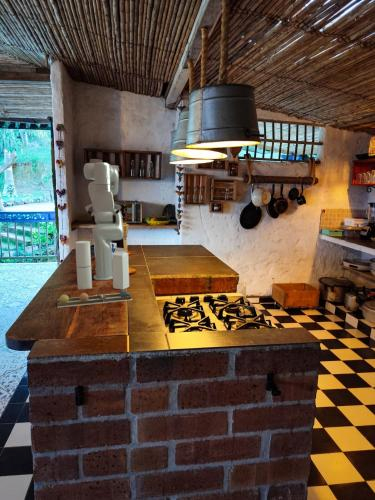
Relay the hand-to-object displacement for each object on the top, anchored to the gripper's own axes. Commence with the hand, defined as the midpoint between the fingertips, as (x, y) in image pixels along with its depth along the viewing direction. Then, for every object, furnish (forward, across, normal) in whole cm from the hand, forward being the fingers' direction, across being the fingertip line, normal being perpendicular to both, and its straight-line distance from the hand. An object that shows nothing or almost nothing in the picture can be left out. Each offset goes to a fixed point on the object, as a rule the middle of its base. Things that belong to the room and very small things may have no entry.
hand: (104, 223), depth 174 cm
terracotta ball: (+32, +12, +16) cm, 38 cm away
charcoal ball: (+32, -6, +16) cm, 36 cm away
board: (+35, +7, +14) cm, 39 cm away
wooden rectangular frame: (+34, -3, +16) cm, 38 cm away
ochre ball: (+32, +21, +16) cm, 41 cm away
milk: (+35, -8, -2) cm, 36 cm away
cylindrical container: (+35, +10, -8) cm, 37 cm away
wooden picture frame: (+34, +14, +16) cm, 40 cm away
